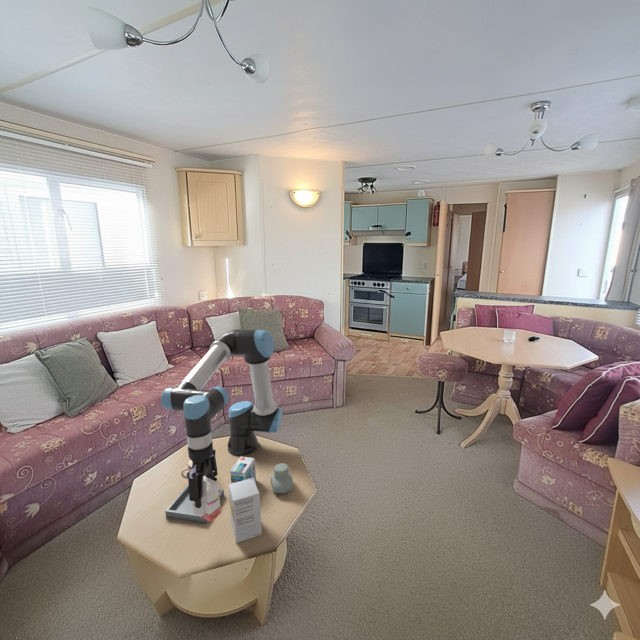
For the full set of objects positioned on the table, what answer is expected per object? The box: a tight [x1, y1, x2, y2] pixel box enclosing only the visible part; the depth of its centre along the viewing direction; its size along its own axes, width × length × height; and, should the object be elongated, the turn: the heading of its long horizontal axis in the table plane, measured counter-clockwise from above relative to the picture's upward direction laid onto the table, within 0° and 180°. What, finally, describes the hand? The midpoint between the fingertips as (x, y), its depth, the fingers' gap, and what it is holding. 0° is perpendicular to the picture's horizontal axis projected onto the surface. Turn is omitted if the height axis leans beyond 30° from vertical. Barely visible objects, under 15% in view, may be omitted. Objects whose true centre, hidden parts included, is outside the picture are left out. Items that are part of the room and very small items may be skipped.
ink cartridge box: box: [192, 476, 222, 523], centre depth 113 cm, size 9×5×15 cm, turn 60°
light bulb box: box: [229, 456, 257, 484], centre depth 143 cm, size 11×7×11 cm, turn 168°
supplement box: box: [228, 478, 263, 544], centre depth 120 cm, size 10×9×17 cm
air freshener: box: [270, 462, 294, 495], centre depth 142 cm, size 11×8×10 cm
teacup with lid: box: [180, 459, 206, 480], centre depth 147 cm, size 12×9×12 cm
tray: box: [164, 484, 225, 525], centre depth 133 cm, size 15×16×3 cm
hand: (206, 506), depth 114 cm, fingers closed on ink cartridge box, 6 cm apart
